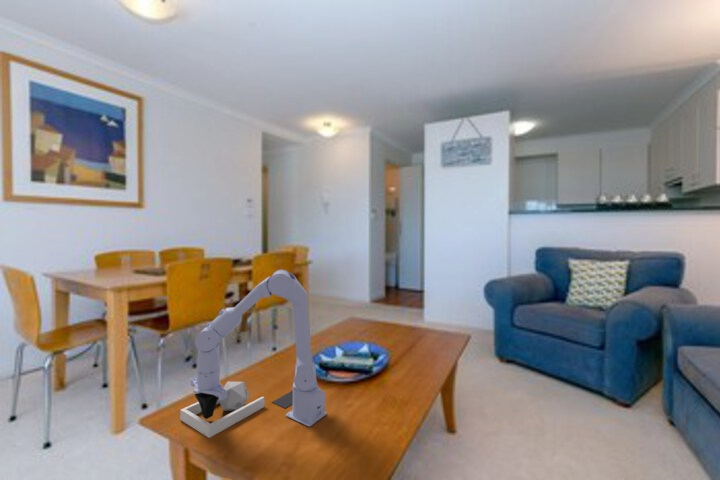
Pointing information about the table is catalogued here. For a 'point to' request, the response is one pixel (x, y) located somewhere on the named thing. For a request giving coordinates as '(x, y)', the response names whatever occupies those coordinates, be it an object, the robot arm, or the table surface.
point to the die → (234, 396)
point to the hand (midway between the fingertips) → (208, 416)
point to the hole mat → (285, 400)
